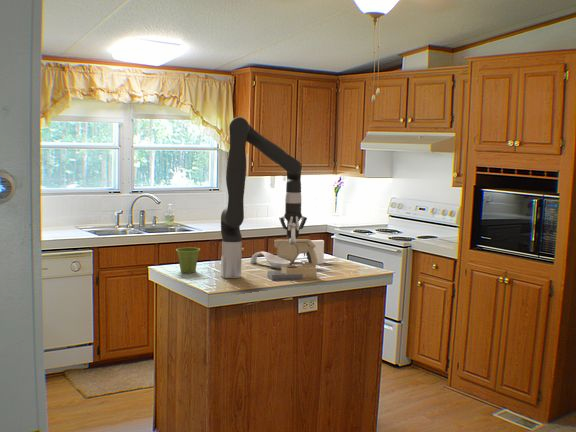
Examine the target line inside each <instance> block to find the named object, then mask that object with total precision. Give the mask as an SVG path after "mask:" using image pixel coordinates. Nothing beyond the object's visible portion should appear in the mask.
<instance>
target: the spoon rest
mask: <svg viewBox="0 0 576 432" xmlns="http://www.w3.org/2000/svg"><path fill="white" fill-rule="evenodd" d="M259 255H263V256H264V257H265V260H266V262H267V263H268V264H269V266H271V268H272V269H280V270H281V266H290V265H289V264H290V263H291V262H290V261H289V260H286V259H283V258H280V257H278V256H277V255H275V254H272V253H270V252H268V251H267V252H266V251H258V252H255V253H254V254H253V255H252V256H251V258H250V261H249V264H250V265H252V264H257V261H258V259H257V258H258V257H259Z"/></svg>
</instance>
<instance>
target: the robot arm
mask: <svg viewBox="0 0 576 432" xmlns="http://www.w3.org/2000/svg"><path fill="white" fill-rule="evenodd" d="M228 129H229V149H228V156H227V162H226V173H225V182H226V189H227V195H228V196H227V198H228V201H227V207H225V208H224V209H223V210H222V212H221V215H220V232H221V233H220V234H221V238H222V239H221V242H222V243H221V256H220V276H221V277H222V278H223V279H239V278H241V277H242V250H243V249H242V243H243V241H242V239H243V237H242V233H241V227H240V226H241V225H242V224H243V222H244V220H245V219H244V218H245V216H244V215H245V214H244V213H245V211H244V208H245V205H244V197H245V188H246V178H247V177H246V176H247V155H246V152H247V151H246V146H247V143H249V144H250V145H251V146H253V147H254V148H255V149H257V150H258V151H259V152H261V153H262V154H263V155H264V156H265V157H267V158H268V159H269V160H271V161H272V162H273V163H275V164H277V165H279V166H280V167H281V168H282V169H283V170H284V171H286V185H285V188H286V189H285V190H286V191H285V199H284V200H285V211H284V215H283V216H280V217H278V218H279V222H280V224H281V226H282V229H284V230H286V237H287V238H288V239H289V238H290V236H291V231H290V228H291V225H292V223H296V239H298V237H300V230H302V229H303V228H304V227H305V224H306V223H307V221H308V220H307V219H308V217H306V216H303V214H302V182H301V180H302V179H301V178H302V164H301V162H300V161H299V160H298V159H296V158H295V157H293V156H291V155H290V154H288V153H287V152H286V151H285V150H284V149H283V148H281V147H280V146H278V145H277V144H276V143H274V142H273V141H271V140H269V139H268V138H266V137H265V136H263V135H261V134H260V133H259V132H258V131H257V130H255V129H254V128H253V127H252V126H251V125H250V124H249V122H248V120H247V119H245V118H243V117H242V116H238V117H237V116H236V117H234V118H233V119H231V121H230V123H229V126H228ZM300 220H301V221H300ZM285 221H286V223H285ZM299 221H300V223H299Z"/></svg>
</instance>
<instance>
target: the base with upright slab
mask: <svg viewBox="0 0 576 432" xmlns="http://www.w3.org/2000/svg"><path fill="white" fill-rule="evenodd" d="M310 240H311V239H310ZM311 241H312V242H313V243H314V244H315V245H316V246H315V247H314V251H315V254H316V257H317V260H318V261H317V264H318V265H321V264H324V261H325V260H324V259H325V258H324V257H325V255H324V254H325V240H323V239H317V240H316V239H315V240H311ZM309 245H310V244H309ZM310 246H311V245H310ZM306 262H308V259H307V258H306ZM317 264H316V265H317Z"/></svg>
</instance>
